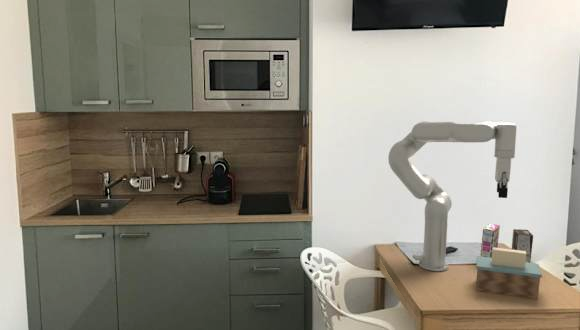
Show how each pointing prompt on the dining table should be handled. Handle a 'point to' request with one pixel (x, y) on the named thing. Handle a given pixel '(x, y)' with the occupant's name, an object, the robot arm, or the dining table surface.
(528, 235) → the coffee box
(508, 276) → the open wooden box
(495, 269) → the lid
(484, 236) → the candy bar box
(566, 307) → the dining table surface
